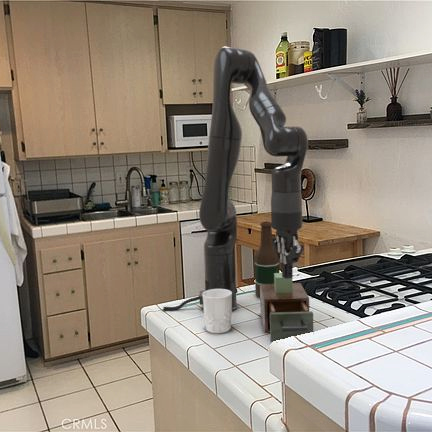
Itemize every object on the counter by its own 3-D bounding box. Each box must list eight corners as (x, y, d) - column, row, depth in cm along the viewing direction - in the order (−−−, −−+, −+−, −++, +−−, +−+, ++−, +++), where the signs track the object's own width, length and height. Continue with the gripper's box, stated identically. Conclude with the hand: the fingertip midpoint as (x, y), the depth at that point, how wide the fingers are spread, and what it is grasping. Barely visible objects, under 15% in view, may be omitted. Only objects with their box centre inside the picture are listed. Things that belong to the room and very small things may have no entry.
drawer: (317, 349, 118) (317, 320, 117) (273, 351, 118) (272, 321, 117) (304, 322, 135) (304, 296, 134) (265, 323, 135) (265, 297, 134)
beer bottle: (284, 295, 161) (283, 222, 157) (266, 301, 157) (265, 225, 153) (268, 290, 167) (267, 219, 163) (250, 295, 163) (248, 222, 159)
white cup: (199, 326, 138) (197, 291, 136) (225, 321, 141) (224, 287, 139) (210, 336, 130) (209, 299, 129) (238, 330, 134) (236, 294, 132)
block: (276, 293, 135) (275, 277, 134) (274, 288, 139) (273, 273, 138) (292, 293, 134) (292, 277, 134) (290, 288, 139) (290, 272, 138)
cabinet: (309, 331, 131) (309, 298, 130) (265, 332, 132) (264, 299, 130) (300, 313, 145) (300, 282, 143) (260, 314, 145) (259, 284, 144)
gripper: (314, 211, 118) (314, 282, 121) (287, 204, 130) (288, 269, 133) (285, 214, 116) (286, 286, 118) (261, 207, 128) (262, 273, 131)
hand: (287, 277), depth 126 cm, fingers closed
